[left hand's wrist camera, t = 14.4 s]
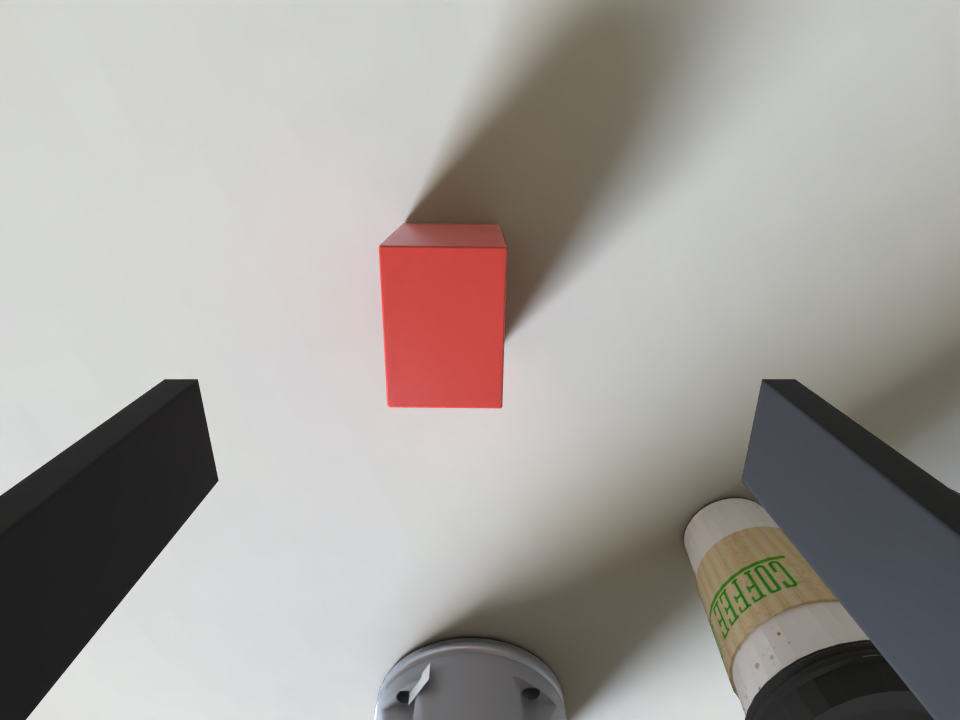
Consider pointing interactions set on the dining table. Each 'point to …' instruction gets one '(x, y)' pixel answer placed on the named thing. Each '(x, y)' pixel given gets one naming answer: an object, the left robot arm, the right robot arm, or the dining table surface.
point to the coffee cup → (786, 626)
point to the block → (444, 315)
